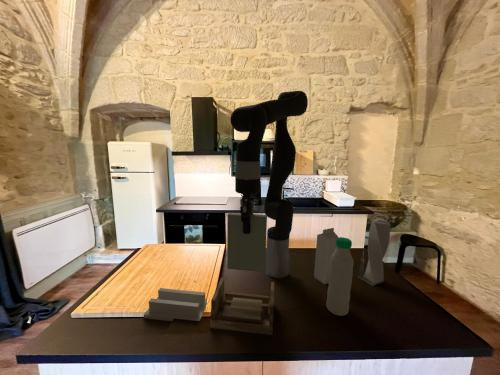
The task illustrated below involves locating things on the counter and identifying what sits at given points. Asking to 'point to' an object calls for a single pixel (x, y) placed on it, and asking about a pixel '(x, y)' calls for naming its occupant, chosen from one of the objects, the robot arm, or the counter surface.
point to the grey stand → (176, 305)
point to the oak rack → (217, 322)
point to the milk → (324, 254)
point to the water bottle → (340, 278)
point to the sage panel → (246, 243)
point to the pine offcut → (246, 308)
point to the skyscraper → (375, 251)
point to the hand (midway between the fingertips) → (247, 231)
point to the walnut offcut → (236, 319)
